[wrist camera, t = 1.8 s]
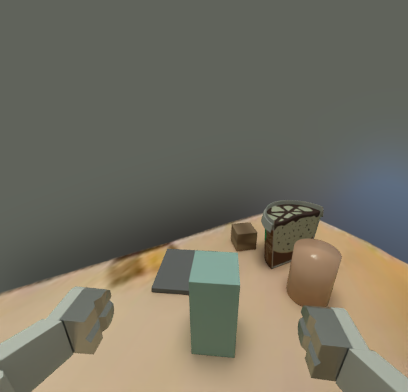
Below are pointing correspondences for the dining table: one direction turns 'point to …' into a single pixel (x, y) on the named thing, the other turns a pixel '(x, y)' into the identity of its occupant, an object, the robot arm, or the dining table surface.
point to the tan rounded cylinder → (312, 272)
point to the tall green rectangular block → (214, 303)
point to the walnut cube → (243, 236)
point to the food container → (288, 228)
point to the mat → (174, 272)
